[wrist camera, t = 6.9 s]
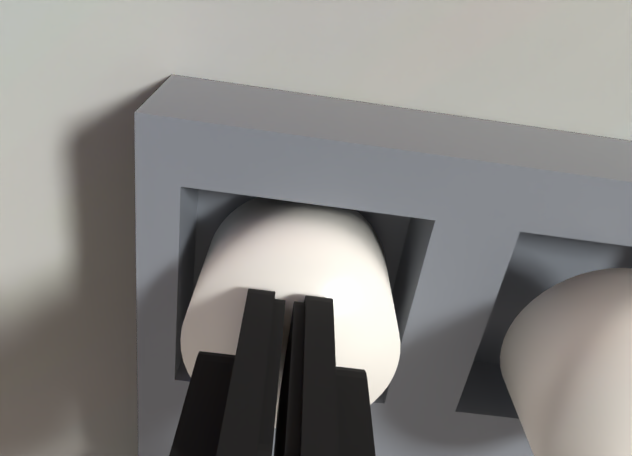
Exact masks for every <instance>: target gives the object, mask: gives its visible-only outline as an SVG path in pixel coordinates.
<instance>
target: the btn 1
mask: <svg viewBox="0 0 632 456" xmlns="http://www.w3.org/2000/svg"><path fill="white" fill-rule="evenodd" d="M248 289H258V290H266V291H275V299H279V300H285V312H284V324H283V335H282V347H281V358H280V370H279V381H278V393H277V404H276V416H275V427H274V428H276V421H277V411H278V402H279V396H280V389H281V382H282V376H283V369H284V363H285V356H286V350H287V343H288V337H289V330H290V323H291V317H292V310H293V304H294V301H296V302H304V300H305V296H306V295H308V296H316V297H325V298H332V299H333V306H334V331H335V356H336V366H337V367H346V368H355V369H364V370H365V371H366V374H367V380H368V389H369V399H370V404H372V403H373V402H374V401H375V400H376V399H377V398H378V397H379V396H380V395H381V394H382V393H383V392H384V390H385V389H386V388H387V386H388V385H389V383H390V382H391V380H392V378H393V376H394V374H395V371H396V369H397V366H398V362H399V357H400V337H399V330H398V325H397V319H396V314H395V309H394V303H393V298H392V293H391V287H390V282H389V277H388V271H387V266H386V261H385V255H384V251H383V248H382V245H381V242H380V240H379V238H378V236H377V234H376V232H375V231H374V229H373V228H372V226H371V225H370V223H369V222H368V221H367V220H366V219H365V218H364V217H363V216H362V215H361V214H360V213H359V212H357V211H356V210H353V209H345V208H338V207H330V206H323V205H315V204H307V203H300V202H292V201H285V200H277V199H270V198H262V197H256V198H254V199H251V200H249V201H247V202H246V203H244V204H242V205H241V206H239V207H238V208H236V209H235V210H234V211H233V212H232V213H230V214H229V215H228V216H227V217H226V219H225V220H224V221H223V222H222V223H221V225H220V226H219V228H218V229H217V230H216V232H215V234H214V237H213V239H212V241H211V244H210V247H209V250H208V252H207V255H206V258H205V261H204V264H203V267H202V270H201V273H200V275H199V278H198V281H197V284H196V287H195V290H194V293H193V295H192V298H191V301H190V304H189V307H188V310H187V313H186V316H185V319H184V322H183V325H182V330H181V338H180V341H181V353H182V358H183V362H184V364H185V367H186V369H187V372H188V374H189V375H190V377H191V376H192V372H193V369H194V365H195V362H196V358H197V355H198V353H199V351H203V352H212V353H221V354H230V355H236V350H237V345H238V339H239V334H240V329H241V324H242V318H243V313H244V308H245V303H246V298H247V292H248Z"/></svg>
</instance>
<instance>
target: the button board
mask: <svg viewBox="0 0 632 456" xmlns="http://www.w3.org/2000/svg"><path fill="white" fill-rule="evenodd" d="M134 123H135V214H136V305H137V396H138V456H169V454H170V451H171V447H172V444H173V440H174V437H175V433H176V429H177V426H178V422H179V419H180V415H181V412H182V408H183V404H184V401H185V397H186V394H187V390H188V387H189V383H190V379H191V377H190V375H189V374H188V372H187V369H186V367H185V364H184V362H183V358H182V353H181V341H180V338H181V330H182V325H183V322H184V319H185V316H186V313H187V310H188V307H189V304H190V301H191V298H192V295H193V293H194V290H195V287H196V284H197V281H198V278H199V275H200V273H201V270H202V267H203V264H204V261H205V258H206V255H207V252H208V250H209V247H210V244H211V241H212V239H213V237H214V234H215V232H216V230H217V229H218V228H219V226H220V225H221V223H222V222H223V221H224V220H225V219H226V217H227V216H228V215H229V214H230V213H232V212H233V211H234V210H235V209H236V208H238V207H239V206H241V205H242V204H244V203H246V202H247V201H249V200H251V199H254V198H256V197H262V198H270V199H277V200H285V201H292V202H300V203H307V204H315V205H323V206H330V207H338V208H345V209H353V210H356V211H357V212H359V213H360V214H361V215H362V216H363V217H364V218H365V219H366V220H367V221H368V222H369V223H370V225H371V226H372V228H373V229H374V231H375V232H376V234H377V236H378V238H379V240H380V242H381V245H382V248H383V251H384V255H385V261H386V266H387V271H388V277H389V282H390V287H391V293H392V298H393V303H394V309H395V314H396V319H397V325H398V330H399V337H400V357H399V362H398V366H397V369H396V371H395V374H394V376H393V378H392V380H391V382H390V383H389V385H388V386H387V388H386V389H385V390H384V392H383V393H382V394H381V395H380V396H379V397H378V398H377V399H376V400H375V401H374V402H373V403H372V404H370V408H371V417H372V427H373V436H374V445H375V454H376V456H534V454H533V452H532V449H531V447H530V444H529V442H528V439H527V437H526V434H525V432H524V429H523V427H522V424H521V422H520V419H519V417H518V414H517V412H516V409H515V407H514V404H513V402H512V399H511V397H510V394H509V392H508V389H507V387H506V384H505V382H504V379H503V376H502V373H501V368H500V352H501V347H502V343H503V340H504V337H505V335H506V333H507V331H508V329H509V327H510V325H511V324H512V322H513V321H514V319H515V318H516V317H517V316H518V314H519V313H520V312H521V311H522V310H523V309H524V308H525V307H526V306H527V305H528V304H529V303H530V302H531V301H532V300H533V299H535V298H536V297H537V296H539V295H540V294H541V293H543V292H544V291H546V290H548V289H549V288H551V287H553V286H554V285H556V284H558V283H560V282H562V281H565V280H567V279H569V278H572V277H575V276H577V275H580V274H584V273H588V272H592V271H596V270H602V269H609V268H632V141H628V140H621V139H615V138H608V137H601V136H594V135H587V134H580V133H573V132H566V131H559V130H552V129H545V128H538V127H532V126H525V125H518V124H511V123H504V122H497V121H490V120H483V119H476V118H469V117H462V116H455V115H448V114H442V113H435V112H428V111H421V110H414V109H407V108H400V107H393V106H386V105H379V104H372V103H365V102H359V101H352V100H345V99H338V98H331V97H324V96H317V95H310V94H303V93H296V92H289V91H282V90H275V89H269V88H262V87H255V86H248V85H241V84H234V83H227V82H220V81H213V80H206V79H199V78H192V77H185V76H179V75H171V76H170V77H169V78H168V79H167V80H166V81H165V82H164V83H163V84H162V85H161V86H160V87H159V88H158V89H157V90H156V91H155V92H154V93H153V94H152V95H151V96H150V97H149V98H148V99H147V100H146V101H145V102H144V103H143V104H142V105H141V106H140V107H139V108H138V109H137V110H136V111H135V112H134ZM275 433H276V428H274V439H273V450H272V456H274V445H275Z"/></svg>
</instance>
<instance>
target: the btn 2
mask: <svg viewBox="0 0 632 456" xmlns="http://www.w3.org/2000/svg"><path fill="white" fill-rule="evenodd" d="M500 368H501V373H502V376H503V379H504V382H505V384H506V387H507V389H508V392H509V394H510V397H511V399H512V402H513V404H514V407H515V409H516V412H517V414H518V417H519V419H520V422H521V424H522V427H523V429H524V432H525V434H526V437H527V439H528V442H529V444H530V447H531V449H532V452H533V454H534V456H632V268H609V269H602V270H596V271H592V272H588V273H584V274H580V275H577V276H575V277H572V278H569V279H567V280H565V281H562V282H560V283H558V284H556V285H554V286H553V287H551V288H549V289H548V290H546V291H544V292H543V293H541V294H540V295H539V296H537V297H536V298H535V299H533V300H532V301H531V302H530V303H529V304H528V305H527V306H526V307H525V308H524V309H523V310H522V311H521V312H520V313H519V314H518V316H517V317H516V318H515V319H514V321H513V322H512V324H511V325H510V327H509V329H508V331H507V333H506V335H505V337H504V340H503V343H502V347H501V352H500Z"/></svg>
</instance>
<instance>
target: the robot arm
mask: <svg viewBox="0 0 632 456" xmlns="http://www.w3.org/2000/svg"><path fill="white" fill-rule="evenodd" d="M284 312H285V300H279V299H275V291H266V290H258V289H248V292H247V298H246V303H245V308H244V313H243V318H242V324H241V329H240V334H239V339H238V345H237V350H236V355H230V354H221V353H212V352H203V351H199V353H198V355H197V358H196V362H195V365H194V369H193V372H192V376H191V379H190V383H189V387H188V390H187V394H186V397H185V401H184V404H183V408H182V412H181V415H180V419H179V422H178V426H177V429H176V433H175V437H174V440H173V444H172V447H171V451H170V454H169V456H272V450H273V439H274V427H275V416H276V404H277V393H278V381H279V370H280V358H281V347H282V335H283V324H284ZM274 456H376V454H375V445H374V436H373V427H372V417H371V408H370V399H369V389H368V380H367V374H366V371H365V370H364V369H355V368H346V367H337V366H336V356H335V331H334V306H333V299H332V298H325V297H316V296H308V295H306V296H305V300H304V302H296V301H294V304H293V310H292V317H291V323H290V330H289V337H288V343H287V350H286V356H285V363H284V369H283V376H282V382H281V389H280V396H279V402H278V411H277V421H276V433H275V445H274Z"/></svg>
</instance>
